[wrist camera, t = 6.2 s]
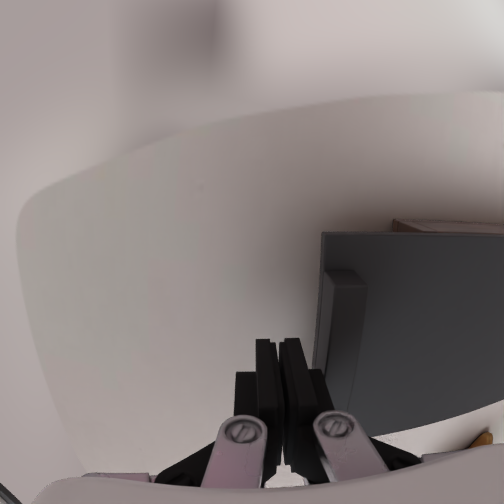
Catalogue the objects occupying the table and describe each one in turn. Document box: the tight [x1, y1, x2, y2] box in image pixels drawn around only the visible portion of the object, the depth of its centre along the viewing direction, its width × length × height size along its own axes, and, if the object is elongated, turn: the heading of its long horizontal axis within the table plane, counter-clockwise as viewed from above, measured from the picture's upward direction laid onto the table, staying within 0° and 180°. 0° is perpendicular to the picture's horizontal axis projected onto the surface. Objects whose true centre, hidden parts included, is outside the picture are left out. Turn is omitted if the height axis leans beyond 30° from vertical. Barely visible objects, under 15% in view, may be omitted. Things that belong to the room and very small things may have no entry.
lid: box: [312, 232, 504, 437], centre depth 12 cm, size 18×11×2 cm, turn 90°
